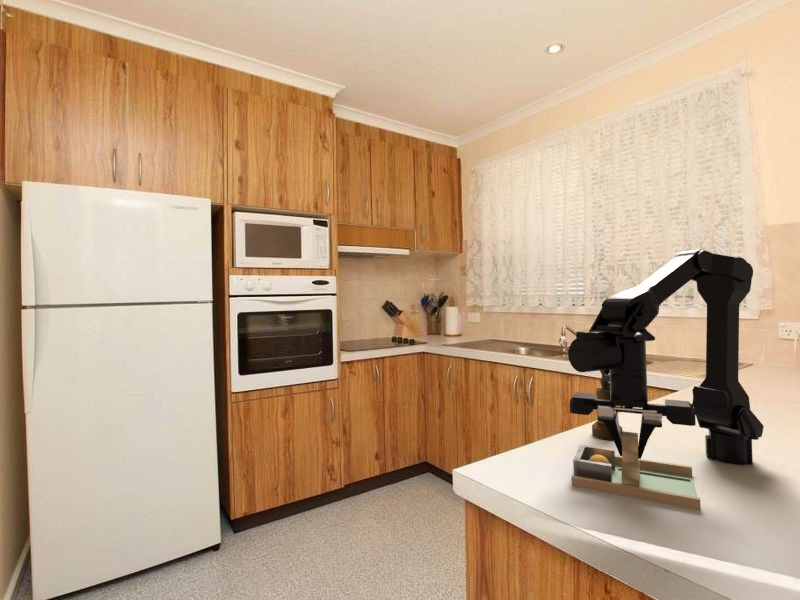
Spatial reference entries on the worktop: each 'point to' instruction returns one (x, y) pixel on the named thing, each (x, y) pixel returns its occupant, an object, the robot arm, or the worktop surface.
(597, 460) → the ball
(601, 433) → the pepper mill
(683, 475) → the pitch
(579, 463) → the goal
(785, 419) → the worktop surface
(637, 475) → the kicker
